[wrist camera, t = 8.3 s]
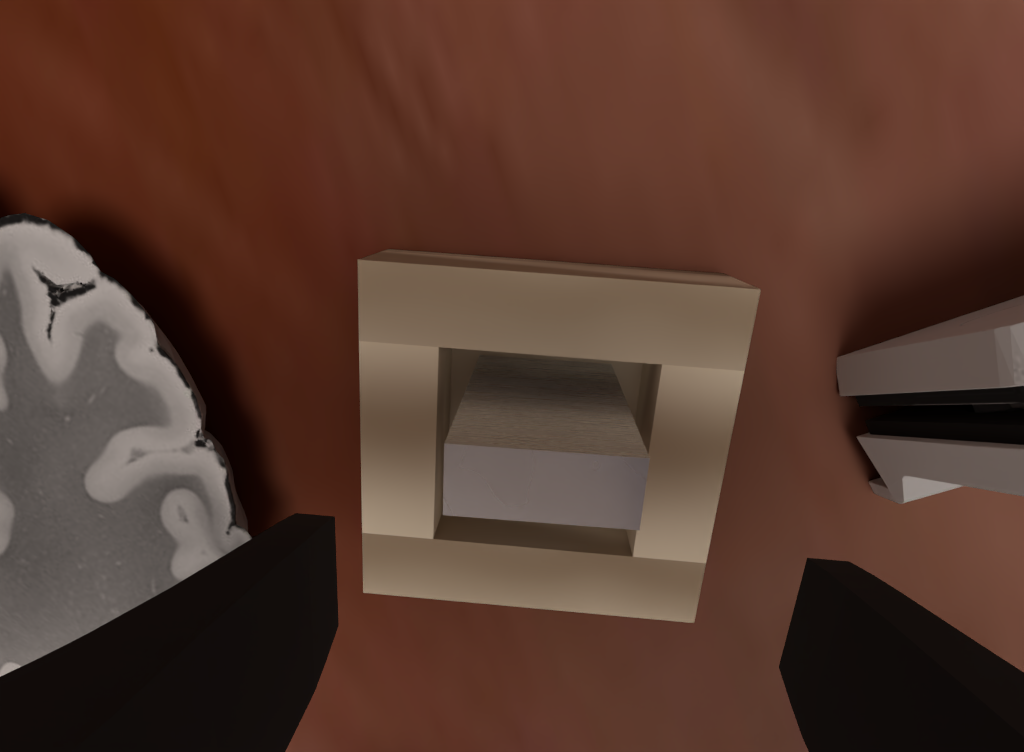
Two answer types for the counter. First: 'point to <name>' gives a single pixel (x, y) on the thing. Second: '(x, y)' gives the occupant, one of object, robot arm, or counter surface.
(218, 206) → the counter surface
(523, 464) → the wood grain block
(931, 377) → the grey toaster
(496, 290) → the well block
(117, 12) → the counter surface
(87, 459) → the brain slice
